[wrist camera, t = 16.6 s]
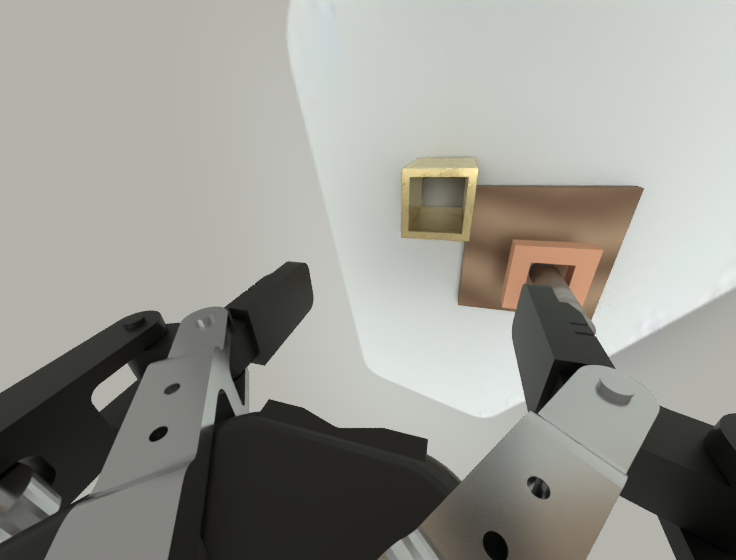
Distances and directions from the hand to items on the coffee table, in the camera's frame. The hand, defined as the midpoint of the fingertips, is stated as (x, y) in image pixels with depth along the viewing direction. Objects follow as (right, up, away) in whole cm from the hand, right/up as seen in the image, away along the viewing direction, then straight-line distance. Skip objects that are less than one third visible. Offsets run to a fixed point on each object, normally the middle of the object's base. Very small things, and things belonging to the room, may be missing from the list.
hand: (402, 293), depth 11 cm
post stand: (+17, +4, +20) cm, 26 cm away
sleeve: (+7, +11, +19) cm, 23 cm away
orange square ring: (+15, +1, +15) cm, 21 cm away
